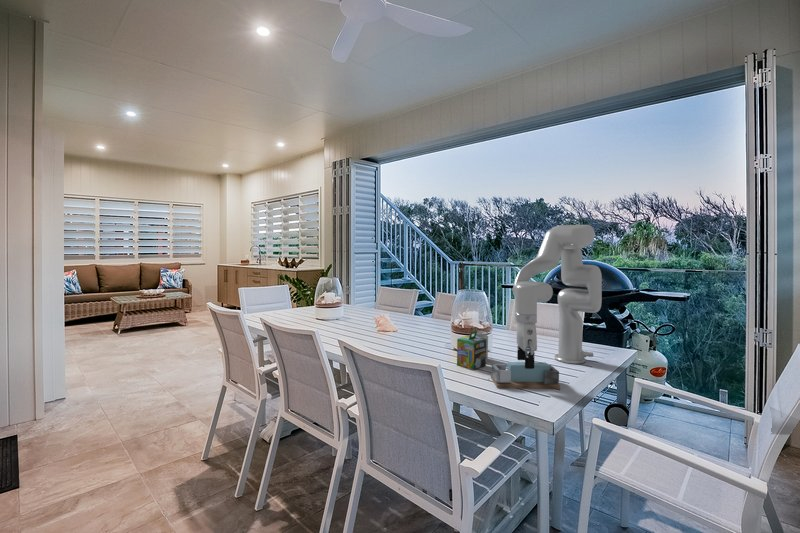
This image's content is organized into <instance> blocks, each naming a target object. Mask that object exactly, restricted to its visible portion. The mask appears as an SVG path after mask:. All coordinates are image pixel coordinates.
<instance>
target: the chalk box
mask: <svg viewBox="0 0 800 533" xmlns="http://www.w3.org/2000/svg"><path fill="white" fill-rule="evenodd" d="M477 331H478V330H473V331H471V332H470V333H469V335H465V336H462V337H460V338H459V337H458V338H457V339H456V342H457V343H456V344H457V345H456V366H460V367H463V368H467V369H469V370H473V371H474V370H477V369H480V368H482V367H485V366H487V359H486V343H487V339H484V338H480V337H476V334H477ZM473 333H474V336H472V334H473Z"/></svg>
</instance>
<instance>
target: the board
mask: <svg viewBox="0 0 800 533" xmlns="http://www.w3.org/2000/svg"><path fill="white" fill-rule="evenodd" d="M548 365H549V366H550V371H544V381H543V382H513V381H511V383H496V381H495V379H494V378H493V376H492V374H490V379H491V381H492V382H493V384H494V386H495V387H496V388H497V389H530V390H531V389H532V390H533V389H537V390H538V389H539V390H541V389H542V390H560V389H561V385H560V384H559V383H560V371H559V370H558V369H556V368H555V367H554V366H553V365H552V364H548Z"/></svg>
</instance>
